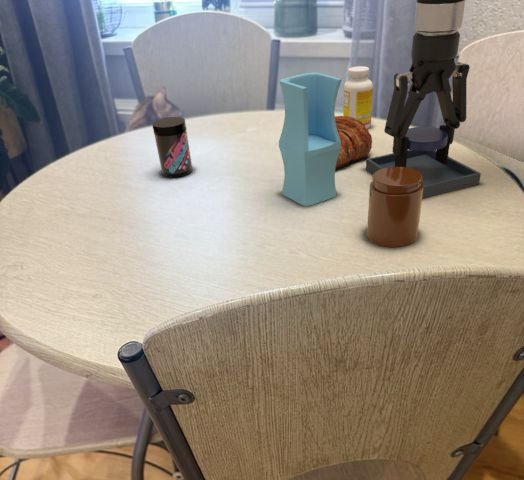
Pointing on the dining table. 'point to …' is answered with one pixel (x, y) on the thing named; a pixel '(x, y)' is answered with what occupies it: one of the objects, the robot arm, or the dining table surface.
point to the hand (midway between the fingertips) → (420, 166)
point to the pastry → (352, 140)
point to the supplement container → (172, 146)
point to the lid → (426, 138)
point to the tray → (431, 171)
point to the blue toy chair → (309, 137)
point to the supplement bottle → (358, 95)
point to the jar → (394, 206)
